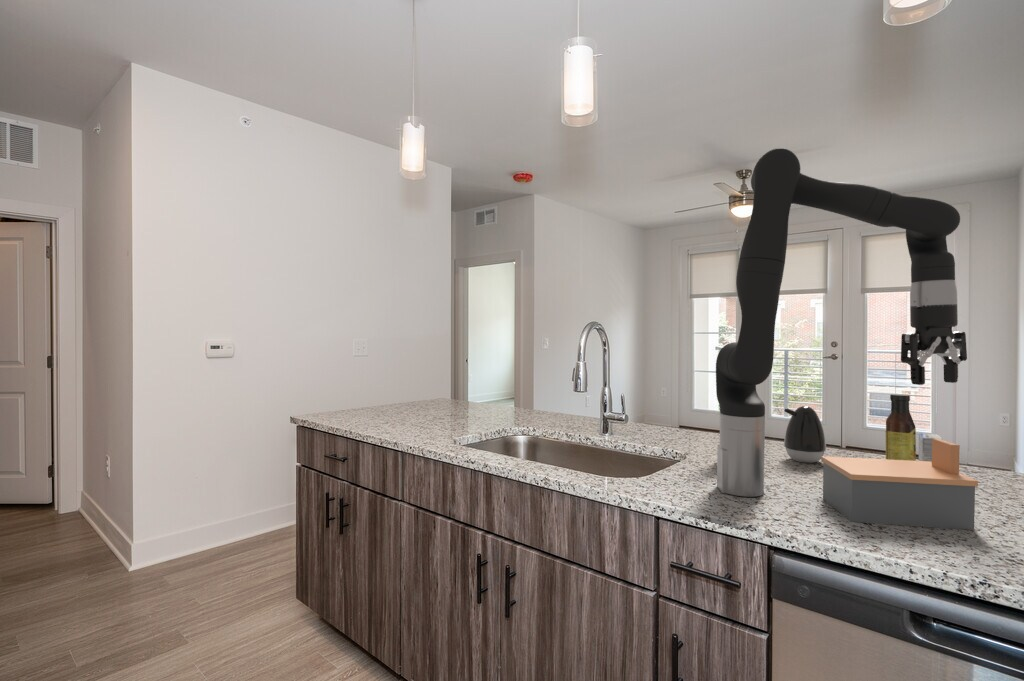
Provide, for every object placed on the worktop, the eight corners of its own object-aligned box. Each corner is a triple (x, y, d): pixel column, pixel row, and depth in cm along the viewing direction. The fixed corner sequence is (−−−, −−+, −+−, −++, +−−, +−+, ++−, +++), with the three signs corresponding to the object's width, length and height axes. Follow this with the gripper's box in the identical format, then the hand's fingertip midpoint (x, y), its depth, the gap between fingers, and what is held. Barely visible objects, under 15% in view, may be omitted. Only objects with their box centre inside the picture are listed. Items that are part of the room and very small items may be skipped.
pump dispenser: (778, 455, 152) (779, 403, 152) (817, 457, 150) (818, 404, 150) (789, 464, 142) (790, 408, 142) (831, 466, 140) (832, 409, 140)
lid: (851, 482, 98) (852, 445, 98) (821, 463, 113) (821, 430, 113) (978, 489, 95) (978, 450, 94) (930, 469, 109) (930, 434, 109)
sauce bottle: (921, 476, 131) (922, 396, 131) (892, 474, 132) (894, 395, 132) (906, 469, 137) (908, 393, 137) (880, 468, 139) (881, 392, 138)
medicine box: (943, 473, 134) (944, 439, 134) (921, 470, 136) (922, 437, 136) (938, 466, 141) (939, 434, 141) (917, 464, 143) (918, 432, 143)
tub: (851, 521, 99) (852, 479, 99) (822, 498, 113) (823, 461, 112) (974, 530, 95) (975, 485, 95) (928, 505, 109) (929, 466, 109)
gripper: (941, 304, 113) (942, 380, 113) (888, 305, 109) (889, 383, 109) (979, 302, 105) (981, 383, 105) (924, 303, 102) (925, 386, 102)
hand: (934, 383), depth 107 cm, fingers open, 8 cm apart
